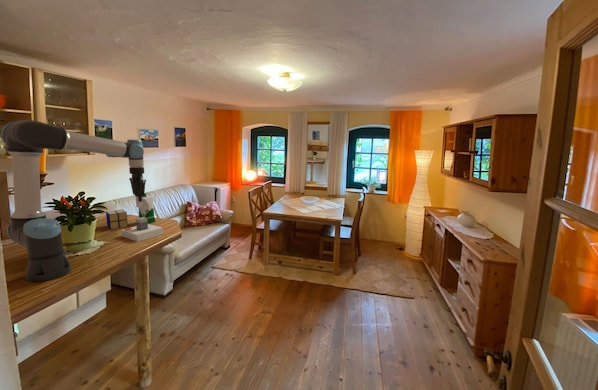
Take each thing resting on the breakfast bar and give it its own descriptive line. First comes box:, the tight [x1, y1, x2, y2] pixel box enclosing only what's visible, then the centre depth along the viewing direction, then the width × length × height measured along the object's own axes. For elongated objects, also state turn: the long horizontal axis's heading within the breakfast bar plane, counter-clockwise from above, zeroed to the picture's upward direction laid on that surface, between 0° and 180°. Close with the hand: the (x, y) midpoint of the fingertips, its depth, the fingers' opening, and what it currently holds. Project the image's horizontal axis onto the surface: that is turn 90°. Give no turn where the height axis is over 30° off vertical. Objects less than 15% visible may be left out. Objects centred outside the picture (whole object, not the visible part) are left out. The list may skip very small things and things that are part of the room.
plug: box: [135, 217, 148, 231], centre depth 180 cm, size 4×4×10 cm
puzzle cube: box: [105, 208, 129, 230], centre depth 196 cm, size 10×10×10 cm
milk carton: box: [137, 192, 156, 225], centre depth 205 cm, size 9×9×20 cm
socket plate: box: [120, 223, 164, 243], centre depth 180 cm, size 16×16×5 cm
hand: (139, 206), depth 177 cm, fingers closed
